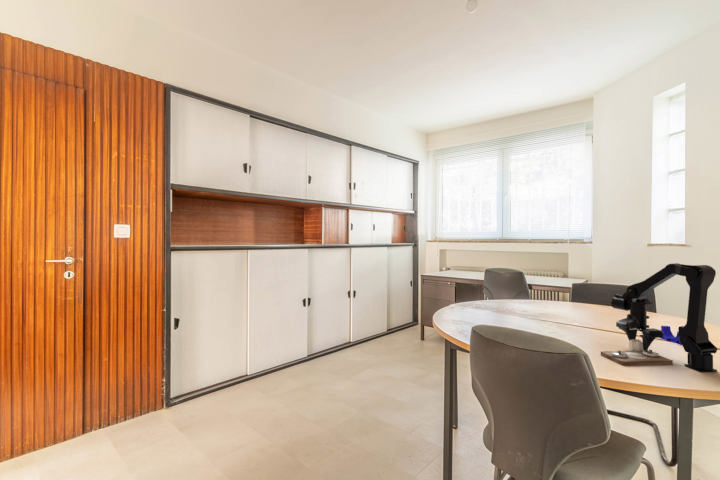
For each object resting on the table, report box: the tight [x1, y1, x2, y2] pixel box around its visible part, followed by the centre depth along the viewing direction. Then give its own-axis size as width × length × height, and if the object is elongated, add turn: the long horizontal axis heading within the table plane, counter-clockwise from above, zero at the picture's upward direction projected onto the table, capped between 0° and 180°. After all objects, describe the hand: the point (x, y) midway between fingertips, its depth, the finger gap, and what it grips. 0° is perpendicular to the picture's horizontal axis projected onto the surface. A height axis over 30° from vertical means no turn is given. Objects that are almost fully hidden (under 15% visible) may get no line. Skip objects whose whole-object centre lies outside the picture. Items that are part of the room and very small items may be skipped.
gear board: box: [600, 350, 674, 366], centre depth 138 cm, size 12×20×2 cm, turn 91°
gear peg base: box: [611, 349, 660, 358], centre depth 138 cm, size 5×18×2 cm, turn 91°
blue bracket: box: [658, 325, 683, 346], centre depth 162 cm, size 12×4×6 cm, turn 171°
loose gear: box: [628, 338, 649, 351], centre depth 150 cm, size 6×6×4 cm
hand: (638, 347), depth 150 cm, fingers closed on loose gear, 6 cm apart
